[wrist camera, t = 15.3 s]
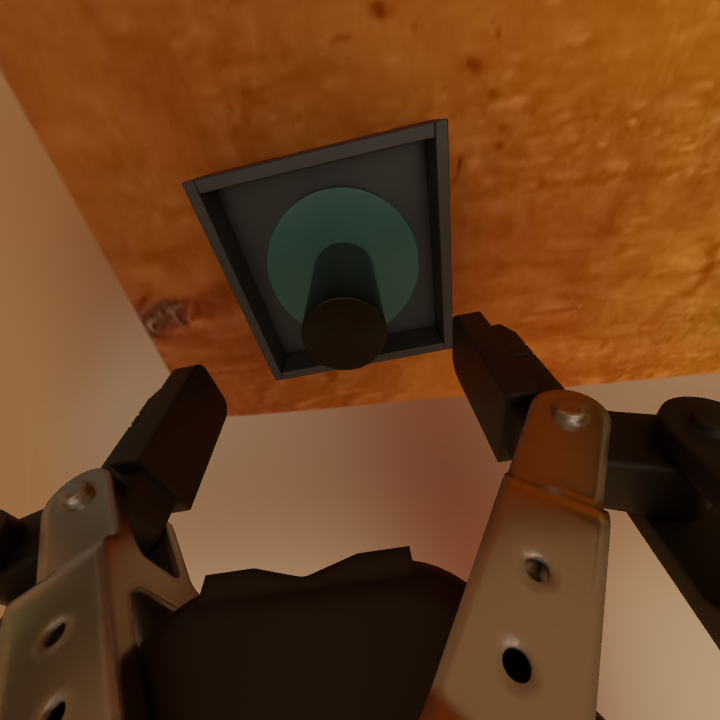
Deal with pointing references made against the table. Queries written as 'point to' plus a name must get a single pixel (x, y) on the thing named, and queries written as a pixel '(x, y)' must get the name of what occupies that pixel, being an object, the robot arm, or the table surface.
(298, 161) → the square tray
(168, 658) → the robot arm
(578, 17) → the table surface
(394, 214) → the pan lid
